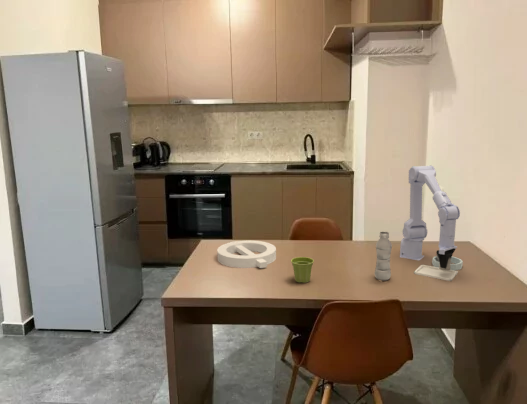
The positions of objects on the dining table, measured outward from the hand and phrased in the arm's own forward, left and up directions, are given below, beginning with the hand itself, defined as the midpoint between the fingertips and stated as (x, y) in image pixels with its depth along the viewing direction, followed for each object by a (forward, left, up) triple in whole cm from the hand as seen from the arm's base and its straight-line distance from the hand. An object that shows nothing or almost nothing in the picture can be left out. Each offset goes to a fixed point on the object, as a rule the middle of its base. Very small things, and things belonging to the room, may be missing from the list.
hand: (444, 266), depth 183 cm
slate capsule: (-4, +12, -4) cm, 14 cm away
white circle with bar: (-84, -27, -5) cm, 88 cm away
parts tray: (-3, 0, -5) cm, 6 cm away
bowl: (-2, +12, -5) cm, 13 cm away
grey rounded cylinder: (0, 0, -1) cm, 1 cm away
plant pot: (-47, -37, -5) cm, 60 cm away
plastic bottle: (-20, -18, -5) cm, 27 cm away
